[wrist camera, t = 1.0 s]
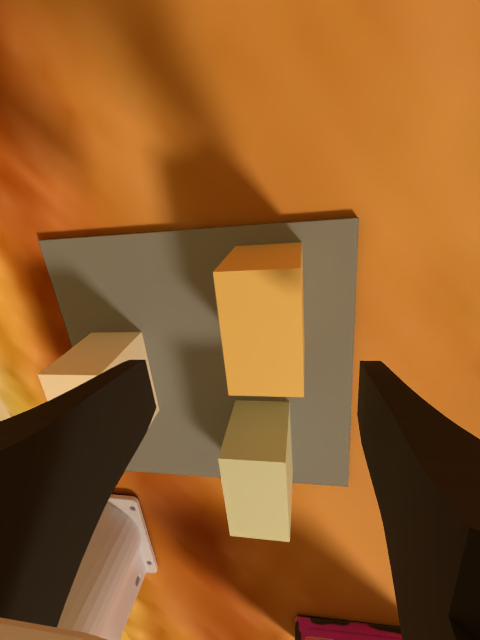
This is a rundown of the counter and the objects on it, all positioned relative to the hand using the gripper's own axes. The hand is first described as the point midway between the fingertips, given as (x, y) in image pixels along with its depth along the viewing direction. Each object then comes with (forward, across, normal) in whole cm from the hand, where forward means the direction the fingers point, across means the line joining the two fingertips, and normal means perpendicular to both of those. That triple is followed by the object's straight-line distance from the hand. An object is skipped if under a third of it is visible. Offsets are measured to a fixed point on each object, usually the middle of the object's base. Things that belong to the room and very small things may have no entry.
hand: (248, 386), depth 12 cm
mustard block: (+9, 0, 0) cm, 9 cm away
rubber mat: (+9, +4, +5) cm, 11 cm away
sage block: (+9, +1, +10) cm, 13 cm away
